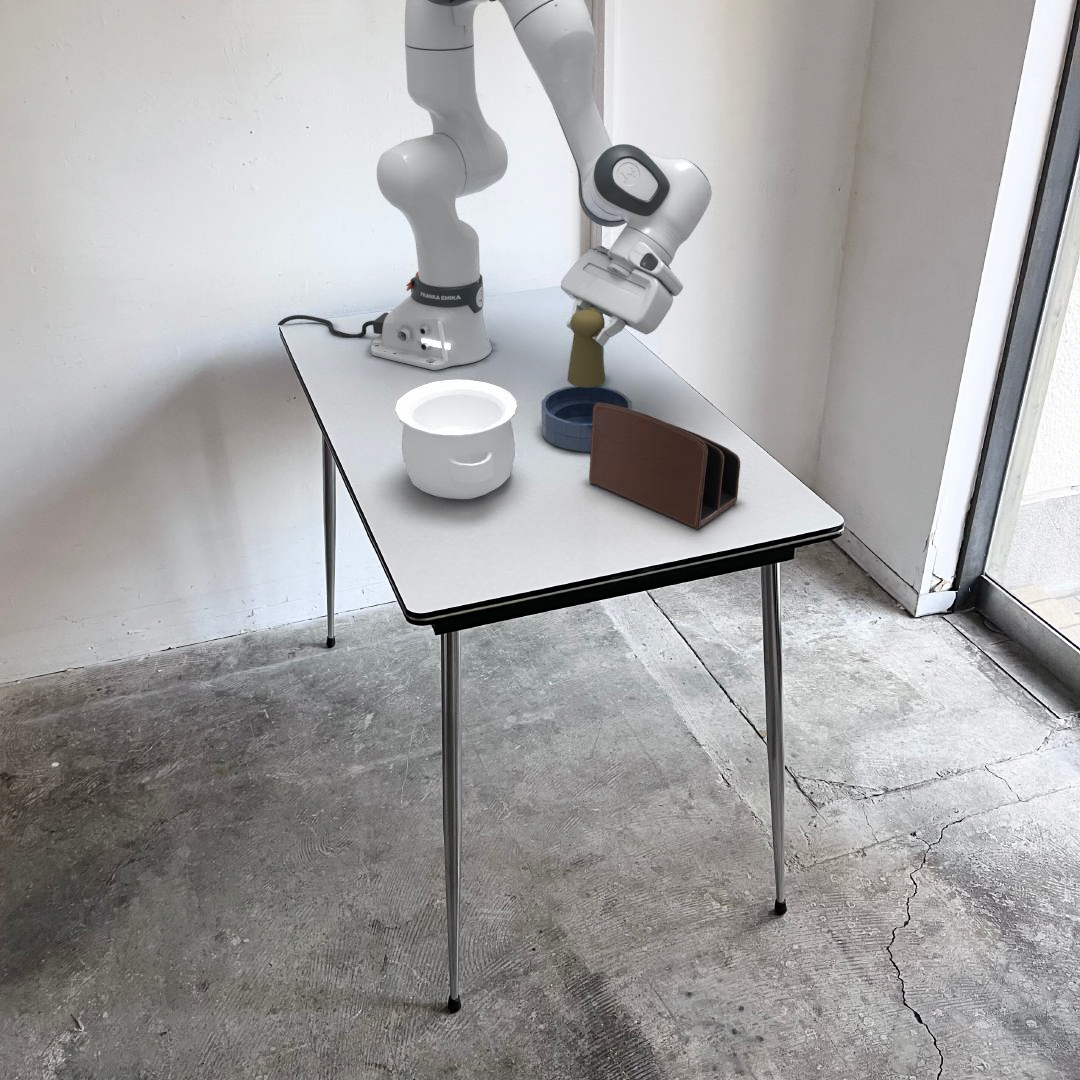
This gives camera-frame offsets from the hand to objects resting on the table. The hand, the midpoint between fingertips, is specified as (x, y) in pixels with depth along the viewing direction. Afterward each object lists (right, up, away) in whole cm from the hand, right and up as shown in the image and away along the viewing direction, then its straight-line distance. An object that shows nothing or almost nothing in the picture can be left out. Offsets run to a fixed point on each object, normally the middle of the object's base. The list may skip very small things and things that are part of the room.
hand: (584, 335), depth 166 cm
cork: (+1, -6, +4) cm, 8 cm away
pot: (-19, -22, -4) cm, 29 cm away
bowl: (+1, -14, +9) cm, 17 cm away
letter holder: (+11, -24, -7) cm, 28 cm away
